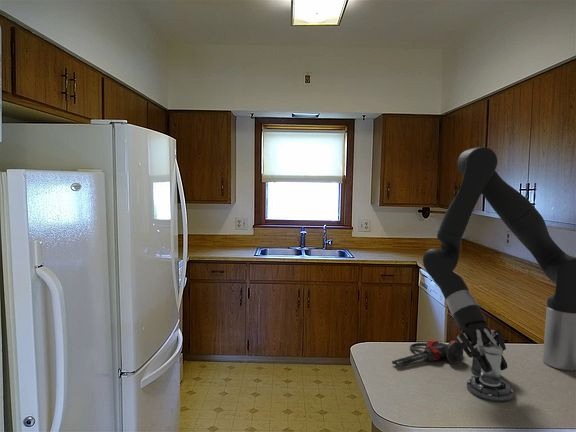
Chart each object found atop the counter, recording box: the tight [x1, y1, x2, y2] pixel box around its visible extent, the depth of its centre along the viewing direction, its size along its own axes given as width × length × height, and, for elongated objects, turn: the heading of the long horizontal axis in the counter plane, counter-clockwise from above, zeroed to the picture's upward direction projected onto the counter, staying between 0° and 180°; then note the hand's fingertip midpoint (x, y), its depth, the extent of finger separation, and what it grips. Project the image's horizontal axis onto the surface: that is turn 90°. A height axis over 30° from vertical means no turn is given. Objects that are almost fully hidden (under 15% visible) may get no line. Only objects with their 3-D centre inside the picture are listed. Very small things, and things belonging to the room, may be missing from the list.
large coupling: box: [470, 342, 491, 376], centre depth 118 cm, size 8×8×8 cm
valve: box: [391, 339, 464, 368], centre depth 128 cm, size 6×26×15 cm
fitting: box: [479, 343, 504, 388], centre depth 107 cm, size 5×5×10 cm
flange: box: [466, 374, 514, 403], centre depth 108 cm, size 11×11×2 cm
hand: (496, 370), depth 106 cm, fingers closed on fitting, 4 cm apart
